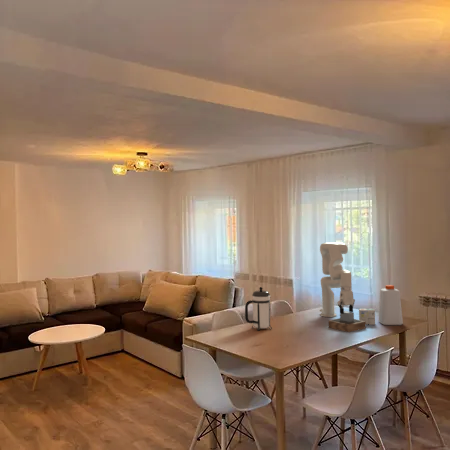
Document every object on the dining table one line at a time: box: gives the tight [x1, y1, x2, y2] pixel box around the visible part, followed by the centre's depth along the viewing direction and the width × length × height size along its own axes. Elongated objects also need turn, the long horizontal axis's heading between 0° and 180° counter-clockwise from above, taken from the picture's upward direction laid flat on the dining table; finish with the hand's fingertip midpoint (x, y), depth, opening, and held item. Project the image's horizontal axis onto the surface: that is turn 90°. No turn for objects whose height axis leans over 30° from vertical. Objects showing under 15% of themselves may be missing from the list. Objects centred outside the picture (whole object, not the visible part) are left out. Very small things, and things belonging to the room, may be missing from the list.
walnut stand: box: [328, 318, 366, 333], centre depth 317 cm, size 18×18×5 cm
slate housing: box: [339, 310, 355, 322], centre depth 317 cm, size 5×9×6 cm, turn 34°
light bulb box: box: [358, 308, 376, 326], centre depth 329 cm, size 11×7×11 cm, turn 84°
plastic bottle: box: [378, 284, 404, 326], centre depth 328 cm, size 15×15×28 cm
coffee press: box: [244, 287, 273, 332], centre depth 318 cm, size 17×16×30 cm
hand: (346, 312), depth 317 cm, fingers open, 9 cm apart
